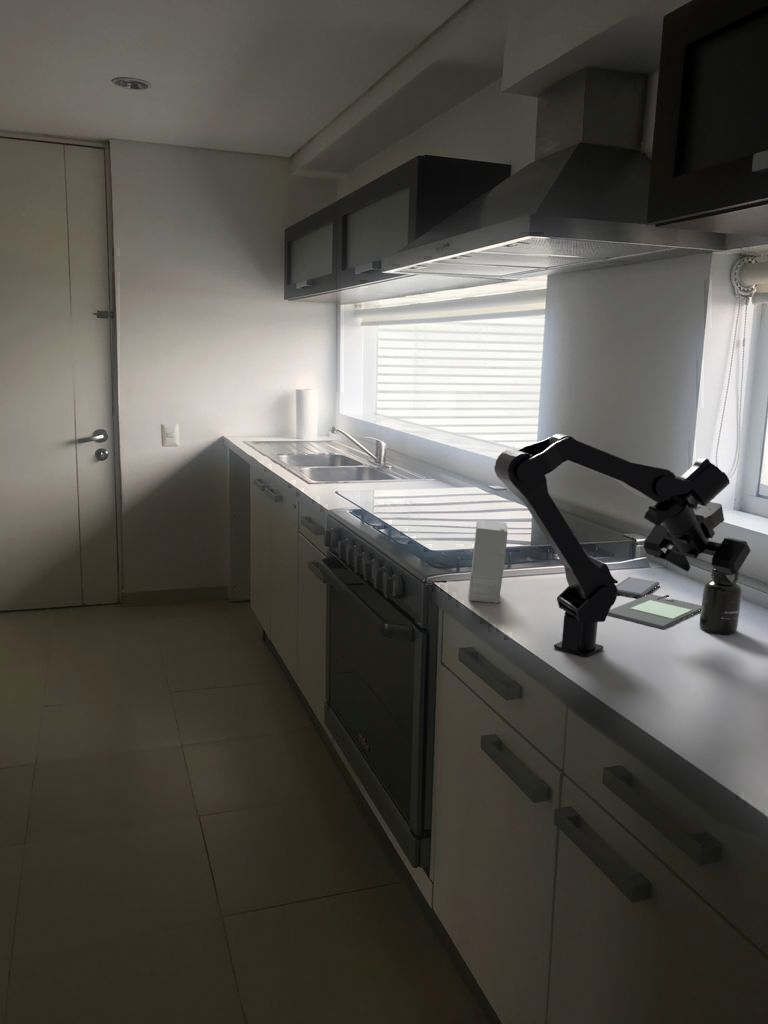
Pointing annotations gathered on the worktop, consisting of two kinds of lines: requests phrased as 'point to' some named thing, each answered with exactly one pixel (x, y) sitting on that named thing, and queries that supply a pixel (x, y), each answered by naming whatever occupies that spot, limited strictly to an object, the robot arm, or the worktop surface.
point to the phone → (636, 587)
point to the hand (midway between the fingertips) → (709, 575)
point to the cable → (648, 592)
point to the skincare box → (488, 561)
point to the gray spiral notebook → (655, 611)
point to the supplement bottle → (720, 605)
